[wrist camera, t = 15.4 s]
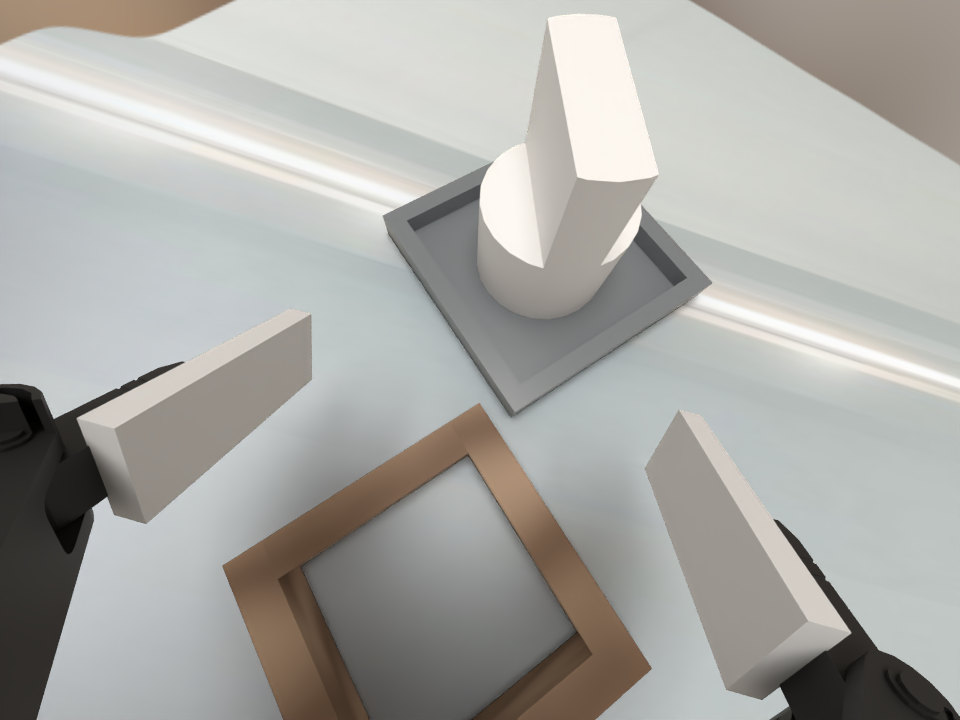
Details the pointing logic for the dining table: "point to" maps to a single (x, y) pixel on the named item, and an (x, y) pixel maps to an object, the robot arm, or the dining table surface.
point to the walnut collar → (277, 559)
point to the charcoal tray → (528, 341)
